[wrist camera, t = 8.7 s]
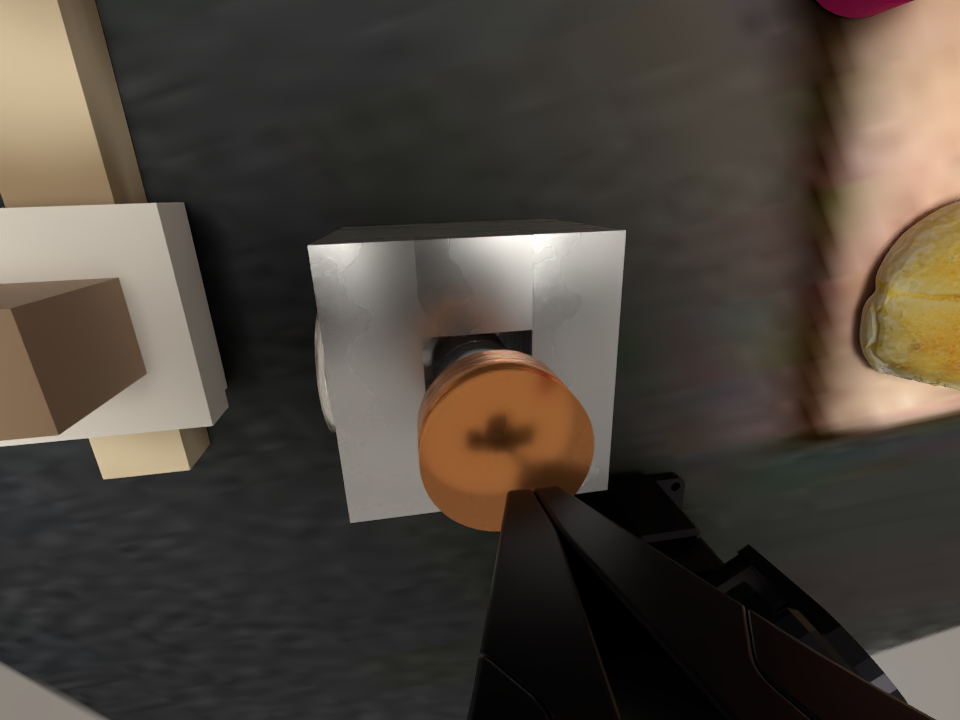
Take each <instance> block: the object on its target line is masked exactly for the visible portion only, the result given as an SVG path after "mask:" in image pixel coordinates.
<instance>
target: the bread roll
mask: <svg viewBox="0 0 960 720" xmlns="http://www.w3.org/2000/svg"><path fill="white" fill-rule="evenodd" d="M875 284H876V290H875V292H874V293H873V294H872V296H871V297H870V298H869V299H868V300H867V301H866V303H865V305H864V307H863V311H862V316H861V324H860V333H859V336H860V344H861V348H862V352H863V355H864V356H865V358H866V359H867V361H868V362H869V364H870V365H871V366H872V368H874V369H875V370H876V371H878V372H882V373H887V374H891V375H894V376H897V377H901V378H905V379H910V380H915V381H918V382H923V383H928V384H931V385H934V386H937V385H941V386H944V387H948V388H954V389H957V390H960V201H958V202H954V203H952V204H949V205H946V206H944V207H942V208H940V209H938V210H936V211H935V212H933V213H932V214H930V215H928V216H927V217H925V218H924V219H922V220H920V221H919V222H918V223H916V224H915V225H914V226H912V227H911V228H910V229H908V230H907V231H906V232H904V233H903V234H902V235H901V236H900V238H899V239H898V240H897V241H896V243H895V244H894V245H893V246H892V247H891V249H890V250H889V252H888V253H887V255H886V256H885V258H884V260H883V261H882V263H881V265H880V267H879V269H878V272H877V275H876V279H875Z"/></svg>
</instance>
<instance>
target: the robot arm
mask: <svg viewBox="0 0 960 720" xmlns="http://www.w3.org/2000/svg"><path fill="white" fill-rule="evenodd" d="M673 483H675V484H674V485H673V486H672V484H673ZM684 487H685V484H684V481H683V480H682V479H681V478H680V477H679V476H678V475H676V474H667V475H660V476H652V477H650V476H648V477H640V478H632V479H624V480H616V481H608V490H603V491H595V492H587V493H580V494H575V495H574V496H573V495H571V494H570V493H568V492H566V491H565V490H563V489H562V488H560V487H558V486H556V485H551V486H543V487H536V488H534V489H533V490H531V489H528V488H527V489H519V490H511V491H509V492H508V493H507V496H506V502H505V508H504V514H503V520H502V525H501V531H500V537H499V543H498V549H497V555H496V561H495V567H494V573H493V579H492V585H491V591H490V597H489V602H488V608H487V614H486V620H485V626H484V632H483V638H482V644H481V650H480V658H479V660H478V665H477V671H476V677H475V683H474V689H473V694H472V699H471V704H470V708H469V713H468V718H467V720H935V719H934V718H932V717H930V716H928V715H927V714H925V713H923V712H921V711H919V710H918V709H915V708H914V707H912V706H910V705H908V703H907V702H906V700H905V699H904V697H903V696H902V695H901V694H900V692H899V691H898V689H897V688H896V687H895V686H894V684H893V683H892V682H891V681H890V679H889V678H888V677H887V676H886V674H885V673H884V672H883V671H882V670H881V669H880V668H879V666H878V665H877V664H876V663H875V662H874V660H873V659H872V658H871V657H870V656H869V655H868V654H867V653H866V651H865V650H864V649H863V648H862V647H861V646H860V645H859V644H858V643H857V642H856V640H855V639H854V638H853V637H852V636H851V635H850V634H849V633H848V632H847V631H846V630H845V629H844V628H843V627H842V626H841V625H840V624H839V623H838V622H837V621H836V620H835V619H834V618H833V617H832V616H831V615H830V614H829V613H828V612H827V611H826V610H824V609H823V608H822V607H821V606H820V605H819V604H818V603H817V602H816V601H814V600H813V599H812V598H811V597H810V596H809V595H807V594H806V593H805V592H804V591H803V590H802V589H800V588H799V587H798V586H797V585H796V584H794V583H793V582H792V581H791V580H790V579H789V578H787V577H786V576H785V575H784V574H783V573H782V572H780V571H779V570H778V569H777V568H776V567H775V566H773V565H772V564H771V563H770V562H769V561H768V560H766V559H765V558H764V557H763V556H762V555H761V554H759V553H758V552H757V551H756V550H755V549H754V548H752V547H751V546H750V545H749V544H748V545H747V546H745V547H744V548H742V549H741V550H739V551H738V552H737V553H738V555H737V556H735V557H734V558H732V559H731V560H729V561H728V562H726V563H725V564H724V563H723V562H722V560H721V559H720V558H719V557H718V556H717V555H716V554H715V552H714V551H713V550H712V549H711V548H710V547H709V546H708V544H707V543H706V542H705V541H704V540H703V539H702V538H701V537H700V531H699V529H698V528H697V527H696V526H695V525H694V523H693V522H692V521H691V520H690V519H689V518H688V517H687V516H686V514H685V513H684V512H683V511H682V510H681V509H682V501H683V494H684Z"/></svg>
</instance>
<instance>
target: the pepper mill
mask: <svg viewBox="0 0 960 720" xmlns="http://www.w3.org/2000/svg"><path fill="white" fill-rule="evenodd" d="M816 1H817V2H818V3H819V4H820V5H821V6H822V7H823V8H824V9H826V10H828V11H830V12H832V13H834V14H837V15H839V16H843V17H848V18H864V17H869V16H873V15H875V14H878V13H881V12H884V11H886V10H889V9H892V8H894V7H897V6H899V5H902V4H905V3H907V2H910V1H912V0H816Z"/></svg>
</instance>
